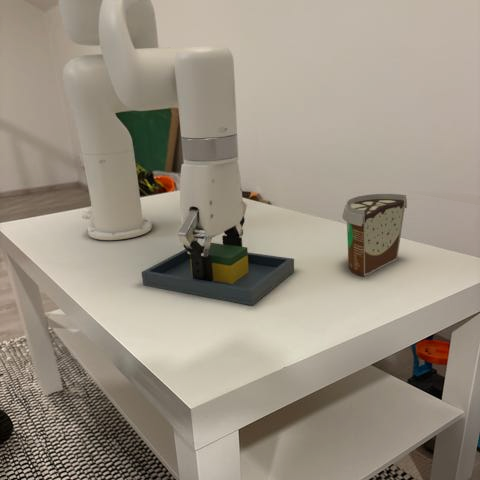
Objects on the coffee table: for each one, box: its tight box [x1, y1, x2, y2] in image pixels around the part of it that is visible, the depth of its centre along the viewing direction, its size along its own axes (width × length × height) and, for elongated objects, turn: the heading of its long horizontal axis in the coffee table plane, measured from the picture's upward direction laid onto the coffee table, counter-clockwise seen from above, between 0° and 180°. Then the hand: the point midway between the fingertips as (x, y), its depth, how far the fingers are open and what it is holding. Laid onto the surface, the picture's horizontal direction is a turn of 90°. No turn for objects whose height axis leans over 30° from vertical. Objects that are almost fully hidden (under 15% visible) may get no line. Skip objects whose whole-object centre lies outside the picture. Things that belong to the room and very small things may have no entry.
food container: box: [342, 193, 408, 278], centre depth 78 cm, size 12×6×10 cm, turn 134°
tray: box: [141, 248, 295, 306], centre depth 77 cm, size 19×14×2 cm
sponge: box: [190, 242, 249, 284], centre depth 76 cm, size 7×5×4 cm
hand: (218, 270), depth 77 cm, fingers open, 8 cm apart
